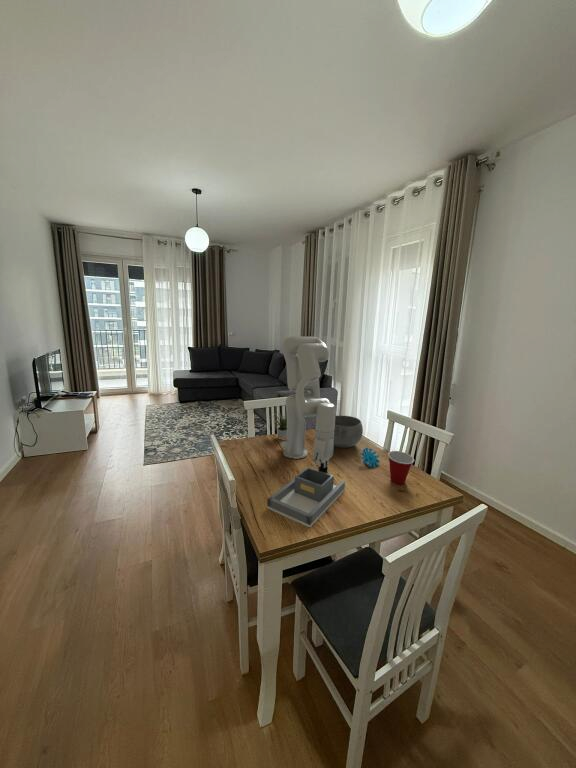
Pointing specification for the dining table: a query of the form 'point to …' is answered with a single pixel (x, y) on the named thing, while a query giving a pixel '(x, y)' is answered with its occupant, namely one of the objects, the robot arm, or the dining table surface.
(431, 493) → the dining table surface
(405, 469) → the plastic cup
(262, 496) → the dining table surface
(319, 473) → the crate
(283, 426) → the house plant
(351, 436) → the bowl
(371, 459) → the gear
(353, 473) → the dining table surface
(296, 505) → the bay
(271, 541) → the dining table surface
